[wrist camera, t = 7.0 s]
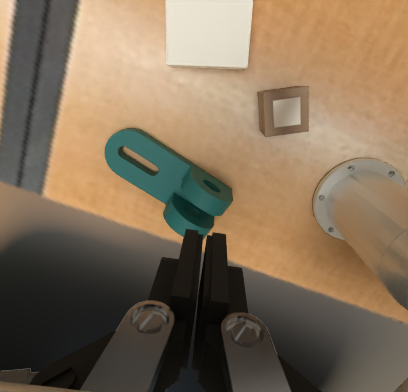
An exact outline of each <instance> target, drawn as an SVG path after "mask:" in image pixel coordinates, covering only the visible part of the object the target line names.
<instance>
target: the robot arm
mask: <svg viewBox="0 0 408 392" xmlns="http://www.w3.org/2000/svg"><path fill="white" fill-rule="evenodd" d="M349 166H350V168H348V167H349ZM320 195H321V196H320ZM319 196H320V197H319ZM312 205H313V213H314V216H315V219H316V221H317V222H318V224H319V225H320V227H321V228H322V229H323V230H324V231H325V232H326V233H327V234H329V235H331V236H332V237H334V238H337V239H340V240H345V241H347V243H348V244H349V245H350V246H351V247H352V249H353V250H354V251H355V252H356V253H357V255H358V256H359V257H360V258H361V259H362V261H363V262H364V263H365V264H366V266H367V267H368V268H369V269H370V270H371V272H372V273H373V274H374V275H375V276H376V278H377V279H378V280H379V281H380V282H381V284H382V285H383V286H384V287H385V288H386V290H387V291H388V292H389V293H390V294H391V295H392V297H393V298H394V299H395V300H396V301H397V302H398V303H399V304H400V305H402V306H403V307H404V308H405V309H407V310H408V189H407V188H406V186H405V182H404V180H403V178H402V176H401V175H400V173H399V172H398V171H397V170H396V169H395V168H393V167H392V166H391V165H389V164H387V163H385V162H383V161H380V160H377V159H370V158H360V159H354V160H350V161H347V162H345V163H342V164H340V165H339V166H337V167H335V168H334V169H332V170H331V171H330V172H329V173H328V174H327V175H326V176H325V177H324V178H323V179H322V180H321V182H320V183H319V185H318V187H317V188H316V191H315V194H314V197H313V204H312ZM198 231H199V230H191V229H186V230H185V234H184V239H183V243H182V248H181V253H180V257H179V259H172V258H165V257H162V259H161V262H160V265H159V268H158V271H157V274H156V277H155V280H154V283H153V286H152V289H151V293H150V296H149V299H148V301H144V302H141V303H138V304H136V305H135V306H133V307H132V308H131V309H130V310H129V311H128V312H127V314H126V315H125V317H124V319H123V320H122V322H121V324H120V325H119V327H118V329H117V330H115V331H113V332H111V333H109V334H107V335H105V336H103V337H102V338H100V339H98V340H96V341H94V342H92V343H90V344H88V345H86V346H84V347H82V348H80V349H78V350H76V351H74V352H72V353H70V354H68V355H66V356H64V357H62V358H60V359H59V360H57V361H54V362H52V363H51V364H49V365H47V366H46V367H44V368H43V369H41V370H40V371H39V372H36V373H31V370H30V369H20V370H8V371H0V392H166V389H167V388H168V387H170V386H171V385H172V384H174V383H175V382H176V381H178V380H179V373H180V369H185V370H186V369H187V363H188V356H189V349H190V342H191V336H192V329H193V323H194V315H195V309H196V301H197V293H198V284H199V272H200V262H201V253H202V242H203V234H198ZM192 371H198V372H197V383H200V384H201V386H202V387H203V388H204V389H205V391H206V392H321V391H320V390H319V389H317V388H316V387H315V386H314V385H312V383H311V382H309V381H308V380H307V379H306V378H305V377H304V376H302V375H301V374H300V373H299V372H298V371H297V370H295V369H294V368H293V367H292V366H291V365H290V364H288V363H287V362H286V361H285V360H284V359H283V358H281V357H280V356H279V355H278V354H277V353H276V350H275V348H274V345H273V342H272V340H271V337H270V334H269V332H268V330H267V328H266V326H265V325H264V324H263V323H262V322H261V321H260V320H259V319H258V318H256V317H255V316H253V315H250V314H248V309H247V302H246V294H245V286H244V279H243V271H242V268H239V267H232V266H228V265H227V245H226V234H221V233H214V232H213V234H212V236H210V235H207V240H206V247H205V253H204V261H203V267H202V273H201V280H200V287H199V295H198V305H197V318H196V327H195V339H194V349H193V359H192ZM394 392H408V378H407V379H406V380H404V382H402V384H401V385H400V386H399V387H398V388H397V389H396V390H395V391H394Z"/></svg>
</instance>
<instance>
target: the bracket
mask: <svg viewBox="0 0 408 392" xmlns="http://www.w3.org/2000/svg"><path fill="white" fill-rule="evenodd" d="M123 146H126V147H127V148H129V149H131V150H132V151H134V152H135V153H137V154H139V155H140V156H142V157H143V158H145V159H146V160H148V161H150V162H151V163H153V164H154V165H156V166H157V167H158V169H159V171H158V172H154V171H152V170H151V169H149V168H147V167H146V166H144V165H143V164H141V163H139V162H138V161H136V160H135V159H133V158H131V157H130V156H128V155H127V154H125V153H124V152H123V149H122V148H123ZM105 158H106V161H107V164H108V165H109V167H110V168H111V170H112V171H113V172H115V173H116V174H117V175H119V176H120V177H122V178H124V179H125V180H127V181H129V182H130V183H132V184H133V185H135V186H137V187H138V188H140V189H142V190H143V191H145V192H147V193H148V194H150V195H151V196H153V197H155V198H156V199H158V200H160V201H161V202H163V203H164V204H166V207H165V209H164V212H163V216H164V219H165V220H166V222H167V223H168V225H169V226H170V227H171V228H172V229H173V230H174V231H175V232H177V233H178V234H180V235H181V236H183V237H184V234H185V230H186V229H191V230H199V231H198V234H203V239H204V238H205V237H206V235H207V234H208V233H209V231H210V230H211V229H212V227H213V226H214V216H221V215H222V214H223V213H224V212H225V210H226V209H227V208H228V207H229V205H230V204H231V203H232V201H233V197H232V190H231V188H230V187H228V186H227V185H225V184H224V183H222V182H221V181H219V180H218V179H216V178H215V177H213V176H212V175H210V174H208V173H207V172H205V171H204V170H202V169H201V168H199V167H198V166H196V165H195V164H193V163H192V162H190V161H188V160H187V159H185V158H184V157H182V156H181V155H179V154H178V153H176V152H175V151H173V150H172V149H170V148H169V147H167V146H165V145H164V144H162V143H161V142H159V141H158V140H156V139H155V138H153V137H152V136H150V135H149V134H147V133H145V132H144V131H142V130H139V129H136V128H127V129H123V130H121V131H119V132H117V133H115V134H113V135H112V136H111V137H110V138H109V140H108V141H107V143H106V146H105Z"/></svg>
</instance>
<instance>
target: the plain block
mask: <svg viewBox="0 0 408 392" xmlns="http://www.w3.org/2000/svg"><path fill="white" fill-rule="evenodd" d="M252 8H253V0H166V65H168V66H171V67H179V68H206V69H232V70H244V69H246V68H247V67H248V55H249V43H250V31H251V20H252Z"/></svg>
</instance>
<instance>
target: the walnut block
mask: <svg viewBox="0 0 408 392" xmlns="http://www.w3.org/2000/svg"><path fill="white" fill-rule="evenodd" d="M258 108H259V124H260V131H261V132H262V133H263V134H264V136H265V137H269V136H277V135H285V134H292V133H300V132H308V131H309V86H294V87H287V88H280V89H273V90H266V91H259V92H258Z"/></svg>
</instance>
